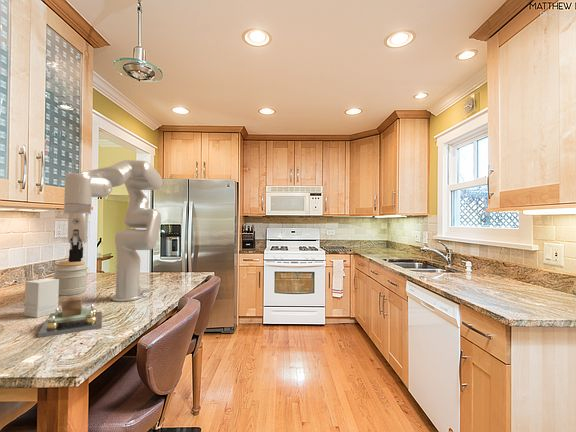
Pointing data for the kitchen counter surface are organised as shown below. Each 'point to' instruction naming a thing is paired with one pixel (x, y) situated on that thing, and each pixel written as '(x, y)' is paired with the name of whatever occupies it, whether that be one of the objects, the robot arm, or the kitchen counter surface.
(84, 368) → the kitchen counter surface
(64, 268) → the jar
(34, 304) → the supplement box
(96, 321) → the standoff base
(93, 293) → the kitchen counter surface
